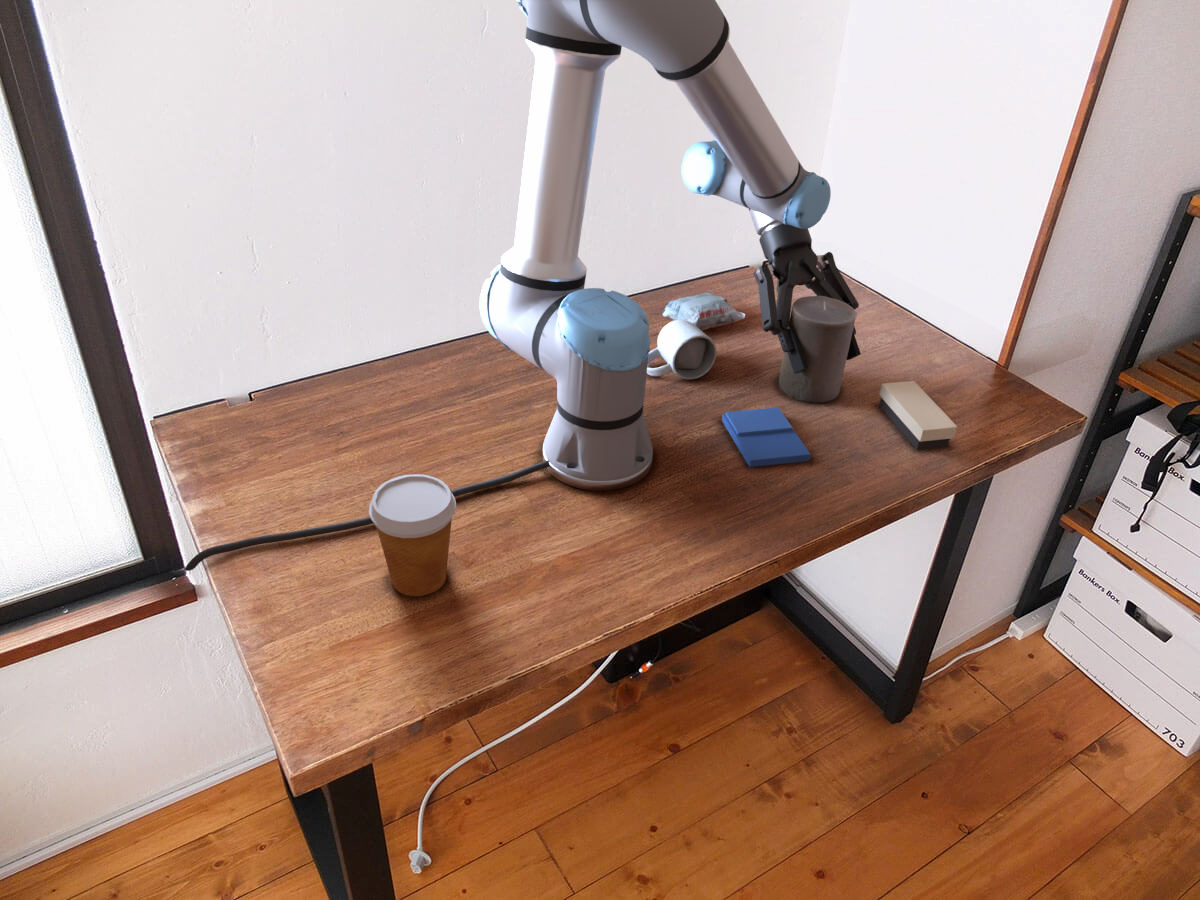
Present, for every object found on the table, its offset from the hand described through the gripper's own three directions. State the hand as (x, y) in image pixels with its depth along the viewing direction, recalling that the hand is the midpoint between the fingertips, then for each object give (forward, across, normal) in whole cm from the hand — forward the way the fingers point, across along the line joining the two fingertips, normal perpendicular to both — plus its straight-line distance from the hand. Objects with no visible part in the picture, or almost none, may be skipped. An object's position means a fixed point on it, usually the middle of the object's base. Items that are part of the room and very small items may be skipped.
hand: (827, 363), depth 146 cm
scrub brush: (+13, -8, +5) cm, 16 cm away
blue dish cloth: (+9, +15, 0) cm, 18 cm away
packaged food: (-15, +4, -24) cm, 29 cm away
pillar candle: (+2, 0, -6) cm, 7 cm away
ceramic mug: (-7, +17, -16) cm, 24 cm away
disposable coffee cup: (+13, +70, +5) cm, 71 cm away
